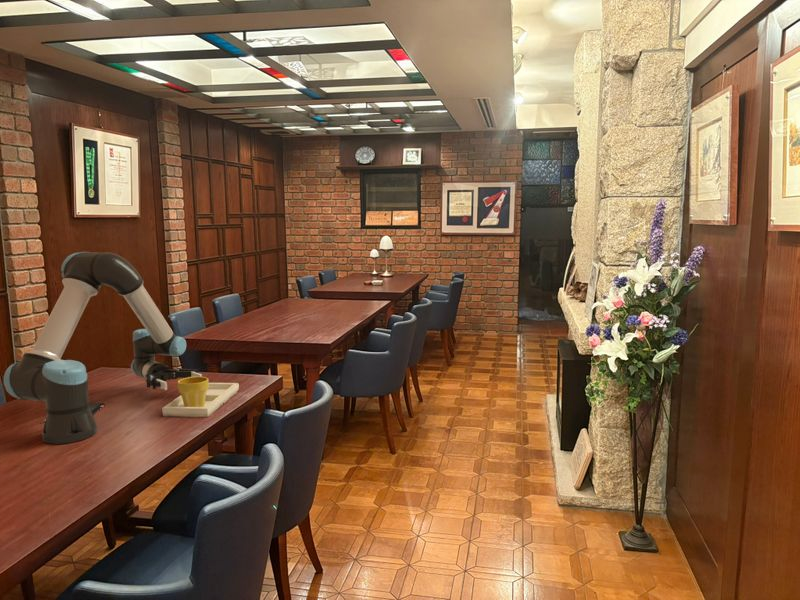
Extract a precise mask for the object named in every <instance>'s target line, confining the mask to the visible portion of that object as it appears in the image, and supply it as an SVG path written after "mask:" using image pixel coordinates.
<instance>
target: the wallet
mask: <svg viewBox="0 0 800 600" xmlns="http://www.w3.org/2000/svg"><path fill="white" fill-rule="evenodd" d="M101 405H104V407H106V406H107V403H104V402H89V408H90V411H91V413H92V415H93V416H94V414H95V413H96V412H97V411H98V410H99V411H101V410H100V408H102V407H100V406H101ZM105 405H106V406H105ZM102 409H103V408H102ZM99 411H98V412H99ZM98 412H97V413H98ZM97 413H96V414H97ZM96 414H95V415H96ZM45 421H46V418H45V419H44V420H42V421H41V422H39V425H42V424H41V423H45Z"/></svg>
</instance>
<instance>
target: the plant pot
mask: <svg viewBox="0 0 800 600" xmlns="http://www.w3.org/2000/svg"><path fill="white" fill-rule="evenodd" d="M209 383H210V382H209V378H208V377H206V376H202V377H188V378H180V379H178V380H177V390H178V392H179V393H180V395H181V396H182V399H183V403H184V406H185V407H203V406H204V404H205V398H206V392H207V389H208V388H209Z"/></svg>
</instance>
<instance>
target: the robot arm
mask: <svg viewBox="0 0 800 600" xmlns="http://www.w3.org/2000/svg"><path fill="white" fill-rule="evenodd" d="M61 272H62V273H61V277H62V281H61V282H62V285H63V289H62V291H61V293H60V295H59V297H58V298H57V300H56V303H55V305H54V307H53V308H52V309H51V310H52V311H51V312H50V315H49V317H48V318H47V320H46V322H45V324H44V326H43V328H42V330H41V332H40V334H39V335H38V336H39V337H37V339H36V341H35V343H34V346H33V347H32V349H31V350H29V351H26V352H24V353H23V355H22V357H21V359H20V361H16V362H15V363H12V364H10V366H8V367H7V368H6V370H5V372H4V375H3V385H4V387H5V391H6V392H7V393H8V394H9V395H10V396H11V397H13V398H15V399H20V400H23V401H36V402H37V401H38V402H43V403H45V407H46V418H45V419H46V421H45V424H43V429H42V431H41V432H42V433H41V436H42V441H43V442H44V443H46V444H51V445H61V444H62V445H63V444H69V443H74V442H80V441H82V440H86V439H88V438H91V437H92V436H95V435H96V434H97V433H98V423H97V421H96V419H95V417H94V415H92V413H91V411H90V408H89V403H90V398H89V385H88V384H89V383H88V381H89V380H88V373H87V368H86V366H85V364H83V363H82V362H80V361H77V360H73V359H66V360H64V359H61V358H62V356H63V354H64V353H65V350H66V348H67V346H68V344H69V342H70V340H71V338H72V336H73V334H74V332H75V330H76V328H77V326H78V323H79V321H80V319H81V318H82V315H83V314H84V311H85V309H86V307H87V305H88V303H89V301H90V299H91V298H92V297H94V296H97V295H98V293H99V291H100V289H101V287H103V286H105V287H110V288H112V289H113V290H115V292H116V293H117V295H119V296H122V297H123V298H124V300H125V301H126V302H127V304H128V305H129V307H130V308H131V310H132V311H133V312H134V314H135V315H136V317H137V319H139V321H140V323H141V325H142V326H143V328H139V329H135V330H134V331H133V332H132V344H133V346H132V347H133V356H134V357H133V360H132V361H131V364H130V370H131V372H132V373H133V374H134V375H136V376H138V377H139V378H144V379H145V382H146V388H147V389H148V388H151V386H152V389H153V390H154V389H155V390H156V389H157V388H159V389H161V390H164V391H167V390H168V383H167V381H168V380H169V381H170V380H177V379H184V378H188V377H203V374H202V373H200V372H199V369H195V368H194V369H193V368H181V367H178V368H177V367H176V369H172V368H171V369H170V367H169V366H168V365H166V364H165V363H161V362H159V361H156V358H155V357H156V355H161V356H169V357H170V356H171V357H175V356H176V357H178V356H182V355H183V354H184V353H185V352H186V349H187V341H186V339H185V338H184V337H182V336H179V335H176V334H175V333H174V331H173V330H172V328H171V327H170V325H169V324H168V322H167V320H166V319H165V317H164V316H163V314H162V313H161V311H160V309H159V308H158V306H157V305H156V303H155V302H154V299H153V298H152V297H151V296H150V294H149V292H148V291H147V289H146V288H145V286H144V280H143V277H142V276H141V275H140V274H139V273H140V272H138V270H137V269H136V268H135V267H134V266H133V265H132V264H131V263H130V262H129V261H128V260H127V259H125V258H124V257H123V256H121V255H120V254H117V253H114V252H108V251H107V252H106V251H105V252H104V251H103V252H90V251H81V252H74V253H71V254H70V255H68V256H66V258H65V259H64V260H63V262H62V264H61Z"/></svg>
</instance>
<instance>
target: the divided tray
mask: <svg viewBox="0 0 800 600" xmlns="http://www.w3.org/2000/svg"><path fill="white" fill-rule="evenodd" d="M239 387H240V386H239V383H238V382H209V388H208V389H207V392H206V398H205V404H204V406H203V407H185V406H184V403H183V399H182V396H181V394H180V395H179V396H178V397H176V398H175V399H174V400H172V401H170V402H168V404H166V405H165V406H163V407H162V408H161V409H162V411H161V412H162V417H179V418H180V417H183V418H184V417H186V418H187V417H188V418H190V417H191V418H209V417H210V416H211V415H212V414H214V412H216V411H217V410H218V409H220V408H221V406H222V405H223V403H224V404H225V403H226V402H227V401H229V400H230V399H231V398H232V397H233V396H234V395H235V394H237V393H238V392H239V391H238V390H240V388H239ZM237 391H238V392H237ZM230 397H231V398H230Z"/></svg>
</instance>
